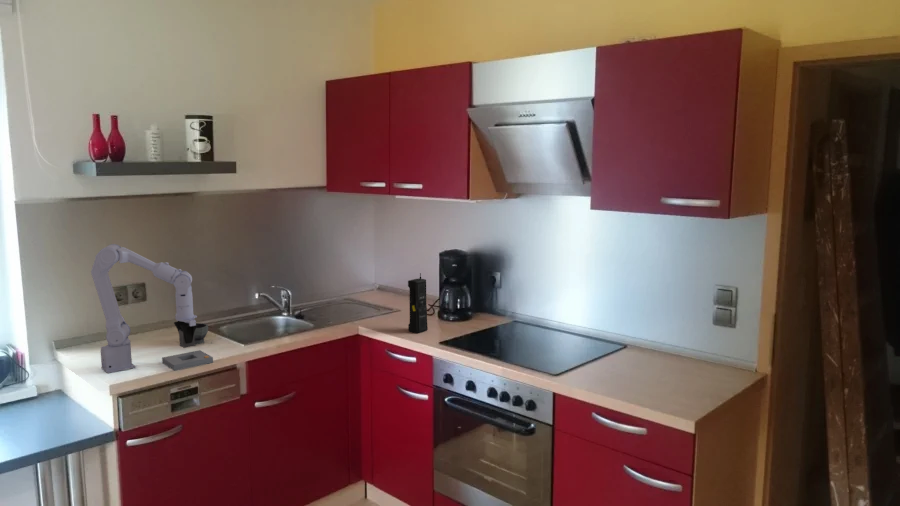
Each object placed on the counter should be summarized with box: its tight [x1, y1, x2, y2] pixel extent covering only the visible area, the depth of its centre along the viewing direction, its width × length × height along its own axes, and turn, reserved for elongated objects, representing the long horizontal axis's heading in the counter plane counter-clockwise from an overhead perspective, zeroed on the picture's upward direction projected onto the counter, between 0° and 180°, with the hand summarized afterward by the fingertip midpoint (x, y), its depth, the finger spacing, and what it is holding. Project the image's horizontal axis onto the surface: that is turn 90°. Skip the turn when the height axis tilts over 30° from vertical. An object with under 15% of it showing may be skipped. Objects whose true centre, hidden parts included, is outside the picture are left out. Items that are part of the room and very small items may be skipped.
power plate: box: [161, 349, 214, 371], centre depth 241 cm, size 14×12×2 cm
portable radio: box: [407, 273, 429, 334], centre depth 284 cm, size 8×6×25 cm
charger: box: [178, 329, 196, 349], centre depth 240 cm, size 4×4×7 cm
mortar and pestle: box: [194, 322, 209, 346], centre depth 266 cm, size 11×9×12 cm
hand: (186, 341), depth 240 cm, fingers closed on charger, 4 cm apart
